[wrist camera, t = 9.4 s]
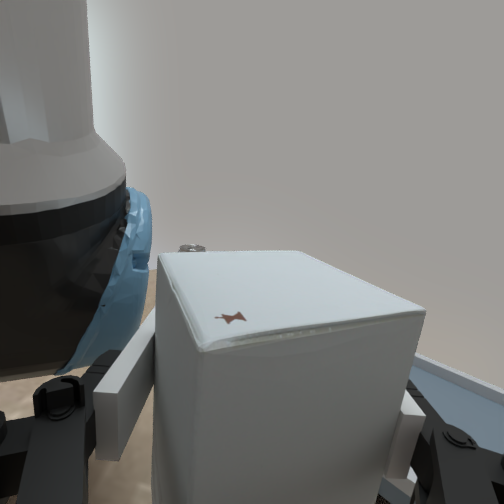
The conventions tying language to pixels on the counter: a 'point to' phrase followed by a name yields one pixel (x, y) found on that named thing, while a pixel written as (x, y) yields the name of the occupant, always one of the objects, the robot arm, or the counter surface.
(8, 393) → the counter surface
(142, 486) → the counter surface
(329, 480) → the supplement box
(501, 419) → the shallow rimmed tray
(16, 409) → the counter surface
